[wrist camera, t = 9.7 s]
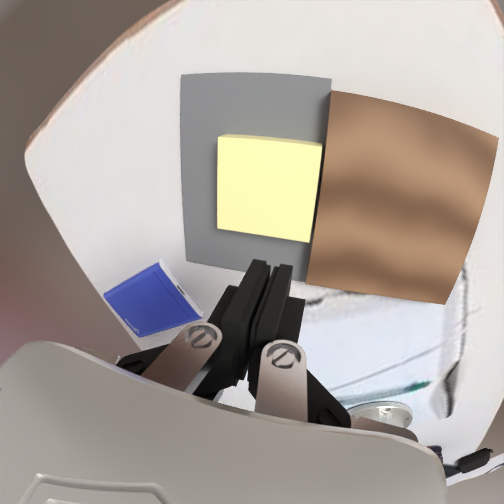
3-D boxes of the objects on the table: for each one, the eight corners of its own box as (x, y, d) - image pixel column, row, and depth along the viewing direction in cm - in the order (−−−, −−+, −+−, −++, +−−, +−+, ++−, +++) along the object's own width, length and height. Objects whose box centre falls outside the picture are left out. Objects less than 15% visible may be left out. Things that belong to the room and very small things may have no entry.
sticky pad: (310, 231, 24) (309, 242, 23) (224, 219, 26) (217, 228, 24) (322, 143, 20) (322, 147, 19) (226, 133, 22) (217, 137, 20)
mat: (305, 280, 27) (305, 281, 27) (188, 259, 29) (186, 261, 29) (331, 79, 18) (331, 79, 18) (182, 75, 20) (181, 75, 20)
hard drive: (139, 339, 37) (200, 320, 32) (102, 295, 35) (156, 263, 29) (144, 331, 39) (205, 311, 33) (108, 288, 36) (163, 256, 31)
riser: (439, 292, 24) (444, 304, 22) (307, 271, 27) (305, 284, 25) (487, 134, 16) (498, 137, 14) (330, 91, 18) (331, 90, 17)
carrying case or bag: (491, 454, 42) (492, 442, 38) (492, 463, 39) (494, 451, 36) (460, 467, 47) (456, 457, 43) (460, 476, 44) (457, 467, 41)
